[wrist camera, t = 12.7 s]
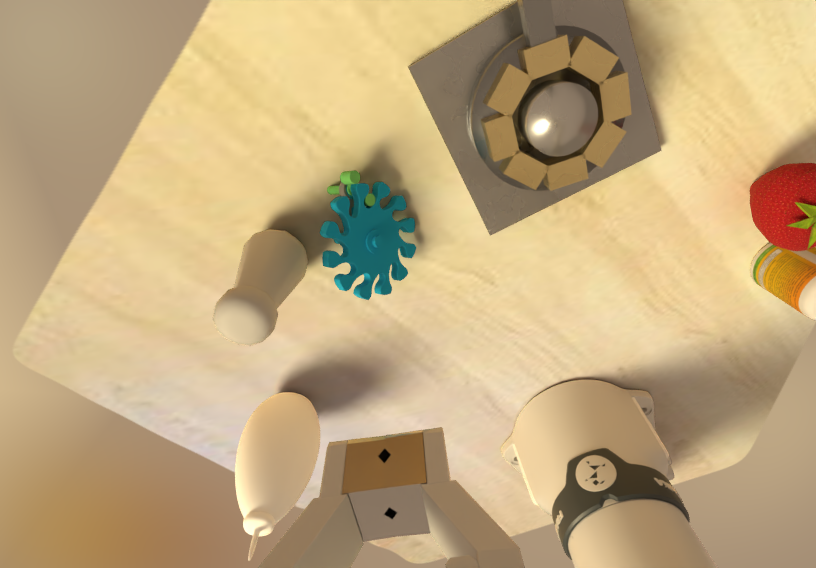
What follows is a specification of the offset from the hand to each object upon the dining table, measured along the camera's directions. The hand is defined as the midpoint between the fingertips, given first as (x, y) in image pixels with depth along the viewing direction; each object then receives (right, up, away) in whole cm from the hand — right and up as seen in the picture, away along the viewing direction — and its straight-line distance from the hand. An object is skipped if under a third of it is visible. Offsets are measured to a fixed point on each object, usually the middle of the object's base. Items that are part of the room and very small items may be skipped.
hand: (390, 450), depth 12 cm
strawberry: (+32, +13, +30) cm, 46 cm away
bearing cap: (+11, +19, +26) cm, 34 cm away
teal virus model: (-3, +10, +30) cm, 32 cm away
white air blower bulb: (-13, -9, +40) cm, 43 cm away
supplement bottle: (+37, +7, +34) cm, 51 cm away
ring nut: (+10, +21, +21) cm, 31 cm away
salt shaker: (-12, +8, +31) cm, 34 cm away
